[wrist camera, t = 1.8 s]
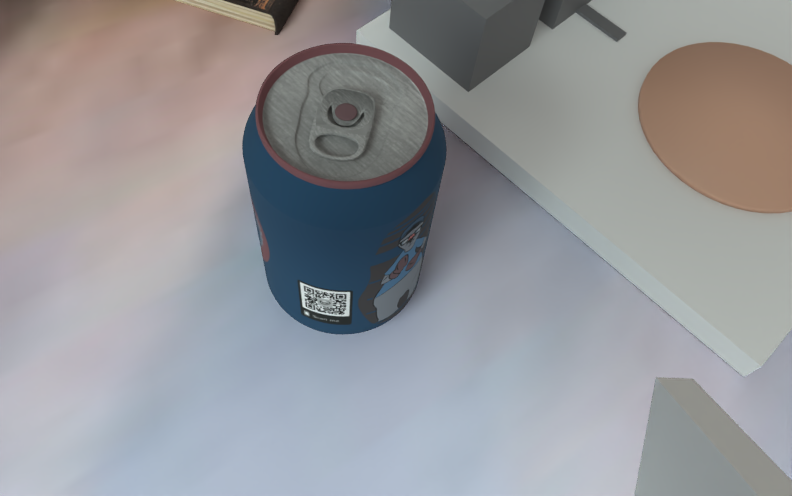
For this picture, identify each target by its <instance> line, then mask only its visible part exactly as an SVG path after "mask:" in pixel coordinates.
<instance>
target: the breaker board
mask: <svg viewBox="0 0 792 496" xmlns="http://www.w3.org/2000/svg"><path fill="white" fill-rule="evenodd" d="M356 44H361V45H366V46H370V47H374V48H377V49H380V50H383V51H386V52H388V53H390V54H392V55H394V56H396V57H398V58H399V59H401V60H402V61H404V62H405V63H407V64H408V65H409V66H410V67H411V68H413V69H414V70H415V71H416V72H417V73H418V75H419V76H420V77H421V78H422V79H423V81H424V82H425V84H426V86H427V87H428V89H429V91H430V94H431V96H432V99H433V103H434V108H435V112H436V114H437V116H438V118H439V120H440V122H442V123H443V124H444V125H445V126H446V127H448V128H449V129H450V130H451V131H452V132H453V133H455V134H456V135H457V136H458V137H459V138H461V139H462V140H463V141H464V142H465V143H467V144H468V145H469V146H470V147H471V148H472V149H474V150H475V151H476V152H477V153H478V154H480V155H481V156H482V157H483V158H484V159H485V160H487V161H488V162H489V163H490V164H491V165H493V166H494V167H495V168H496V169H497V170H499V171H500V172H501V173H502V174H503V175H504V176H506V177H507V178H508V179H509V180H510V181H512V182H513V183H514V184H515V185H516V186H518V187H519V188H520V189H521V190H522V191H523V192H525V193H526V194H527V195H528V196H529V197H531V198H532V199H533V200H534V201H535V202H537V203H538V204H539V205H540V206H541V207H542V208H544V209H545V210H546V211H547V212H548V213H550V214H551V215H552V216H553V217H554V218H556V219H557V220H558V221H559V222H560V223H561V224H563V225H564V226H565V227H566V228H567V229H569V230H570V231H571V232H572V233H573V234H575V235H576V236H577V237H578V238H579V239H580V240H582V241H583V242H584V243H585V244H586V245H588V246H589V247H590V248H591V249H592V250H593V251H595V252H596V253H597V254H598V255H599V256H601V257H602V258H603V259H604V260H605V261H607V262H608V263H609V264H610V265H611V266H612V267H614V268H615V269H616V270H617V271H618V272H620V273H621V274H622V275H623V276H624V277H626V278H627V279H628V280H629V281H630V282H631V283H633V284H634V285H635V286H636V287H637V288H639V289H640V290H641V291H642V292H643V293H645V294H646V295H647V296H648V297H649V298H650V299H652V300H653V301H654V302H655V303H656V304H658V305H659V306H660V307H661V308H662V309H664V310H665V311H666V312H667V313H668V314H669V315H671V316H672V317H673V318H674V319H675V320H677V321H678V322H679V323H680V324H681V325H682V326H684V327H685V328H686V329H687V330H688V331H690V332H691V333H692V334H693V335H694V336H696V337H697V338H698V339H699V340H700V341H701V342H703V343H704V344H705V345H706V346H707V347H709V348H710V349H711V350H712V351H713V352H715V353H716V354H717V355H718V356H719V357H720V358H722V359H723V360H724V361H725V362H726V363H728V364H729V365H730V366H731V367H732V368H734V369H735V370H736V371H737V372H738V373H739V374H741V375H742V376H743V377H746V376H747V375H749V374H751V373H752V372H754V371H755V370H757V369H759V368H760V367H762V366H763V364H764V363H765V362H766V361H767V359H768V358H769V357H770V356H771V354H772V353H773V352H774V351H775V349H776V348H777V347H778V346H779V344H780V343H781V342H782V340H783V339H784V338H785V337H786V335H787V334H788V333H789V332H790V330H791V329H792V0H391V9H390V10H388V11H386V12H385V13H383V14H382V15H380V16H379V17H377V18H375V19H374V20H372V21H371V22H369V23H368V24H366V25H364V26H363V27H361V28H360V29H358V30H357V34H356Z"/></svg>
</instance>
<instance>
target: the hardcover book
mask: <svg viewBox="0 0 792 496" xmlns="http://www.w3.org/2000/svg"><path fill="white" fill-rule="evenodd" d="M175 1H178V2H182V3H185V4H188V5H191V6H194V7H198V8H201V9H204V10H207V11H211V12H214V13H217V14H220V15H224V16H227V17H230V18H233V19H237V20H240V21H243V22H246V23H249V24H253V25H256V26H259V27H262V28H266V29H269V30H272V31H275V35H278V34H279V33H280V31H281V29H282V27H283V26H284V24H285V22H286V21H287V19H288V17H289V16H290V14H291V12H292V10H293V9H294V7H295V5H296V4H297V2H298V0H175Z"/></svg>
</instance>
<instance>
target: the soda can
mask: <svg viewBox="0 0 792 496" xmlns="http://www.w3.org/2000/svg"><path fill="white" fill-rule="evenodd" d="M243 158H244V163H245V168H246V173H247V179H248V184H249V189H250V194H251V199H252V204H253V209H254V214H255V220H256V225H257V230H258V235H259V240H260V245H261V250H262V255H263V261H264V266H265V271H266V276H267V280H268V284H269V287H270V289H271V291H272V294H273V295H274V297H275V299H276V300H277V302H278V303H279V305H280V306H281V307H282V308H283V309H284V310H285V311H286V312H287V313H288V314H289V315H290V316H291V317H293V318H294V319H295V320H297V321H298V322H300V323H302V324H303V325H305V326H307V327H310V328H312V329H315V330H318V331H321V332H325V333H331V334H355V333H360V332H365V331H368V330H371V329H374V328H376V327H378V326H381V325H382V324H384V323H386V322H387V321H389V320H391V319H392V318H393V317H394V316H396V315H397V314H398V313H399V312H400V311H401V310H402V309H403V308H404V307H405V305H406V304H407V303H408V301H409V300H410V298H411V297H412V295H413V293H414V291H415V289H416V286H417V283H418V279H419V275H420V270H421V266H422V262H423V257H424V253H425V248H426V244H427V240H428V235H429V231H430V227H431V222H432V218H433V213H434V209H435V205H436V200H437V196H438V192H439V187H440V183H441V178H442V174H443V170H444V165H445V160H446V140H445V135H444V131H443V128H442V125H441V122H440V120H439V118H438V116H437V114H436V112H435V108H434V103H433V99H432V96H431V94H430V91H429V89H428V87H427V86H426V84H425V82H424V81H423V79H422V78H421V77H420V76H419V75H418V73H417V72H416V71H415V70H414V69H413V68H411V67H410V66H409V65H408V64H407V63H405V62H404V61H402V60H401V59H399V58H398V57H396V56H394V55H392V54H390V53H388V52H386V51H383V50H380V49H377V48H374V47H370V46H366V45H361V44H352V43H334V44H325V45H320V46H316V47H312V48H309V49H306V50H303V51H301V52H298V53H296V54H294V55H292V56H291V57H289V58H287V59H286V60H284V61H283V62H281V63H280V64H279V65H278V66H276V67H275V68H274V69H273V70H272V71H271V72H270V74H269V75H268V76H267V78H266V79H265V81H264V82H263V84H262V86H261V88H260V91H259V94H258V97H257V101H256V105H255V107H254V108H253V110H252V112H251V114H250V116H249V118H248V121H247V124H246V127H245V131H244V135H243Z"/></svg>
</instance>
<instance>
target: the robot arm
mask: <svg viewBox="0 0 792 496" xmlns="http://www.w3.org/2000/svg"><path fill="white" fill-rule="evenodd" d="M635 496H792V480H791V479H790V478H789V477H788V476H787V475H786V474H785V473H784V472H783V471H782V470H781V469H780V468H779V467H778V466H777V465H776V464H775V463H774V462H773V461H772V460H771V459H770V458H769V457H768V456H767V455H766V454H765V453H764V452H763V451H762V449H761V448H760V447H759V446H758V445H757V444H756V443H755V442H754V441H753V440H752V439H751V438H750V437H749V436H748V435H747V434H746V433H745V432H744V431H743V430H742V429H741V428H740V427H739V426H738V425H737V424H736V423H735V422H734V421H733V420H732V419H731V418H730V417H729V415H728V414H727V413H726V412H725V411H724V410H723V409H722V408H721V407H720V406H719V405H718V404H717V403H716V402H715V401H714V400H713V399H712V398H711V397H710V396H709V395H708V394H707V393H706V392H705V391H704V390H703V389H702V388H701V387H700V386H699V385H698V384H697V383H696V382H695V380H694V379H684V378H658V377H656V380H655V385H654V391H653V396H652V402H651V407H650V413H649V418H648V423H647V429H646V434H645V440H644V445H643V451H642V456H641V462H640V467H639V473H638V478H637V484H636V489H635Z"/></svg>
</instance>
